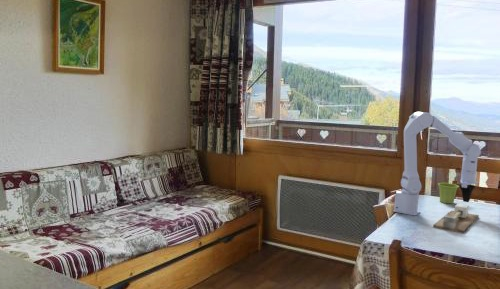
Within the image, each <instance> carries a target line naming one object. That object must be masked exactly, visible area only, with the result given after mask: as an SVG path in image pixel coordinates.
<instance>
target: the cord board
mask: <svg viewBox="0 0 500 289" xmlns="http://www.w3.org/2000/svg"><path fill="white" fill-rule="evenodd" d="M462 213H463V211H458V212H457V213H456V214H455V215H454V210H450V211H449V212H448V213H446V214H444V216H443V217H441V218H440V219H439V220H438V221H437V222H435V223H433V227H432V228H435V229H439V230H445V231H450V232H453V233H455V232H456V233H460V234H465V232H466V231H467V230H468V229H469V228H470V227H471V226H472V225H473V224H474V223H475V222H476V221H477V220H478V219H479V214H472V213H469V212H468V216H467V217H466V218H463V217H459V216H460V215H461V214H462Z"/></svg>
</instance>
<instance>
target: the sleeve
mask: <svg viewBox="0 0 500 289" xmlns="http://www.w3.org/2000/svg"><path fill="white" fill-rule="evenodd" d="M469 207H470V206H469V205H467V204H460V203H456V205H455V206H454V210H453V211H454V215H455V214H456V213H457V212H458V211H463V213H462V214H461V215H460V216H459V217H463V218H466V217H467V216H468V213H469Z"/></svg>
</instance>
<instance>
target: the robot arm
mask: <svg viewBox="0 0 500 289" xmlns="http://www.w3.org/2000/svg"><path fill="white" fill-rule="evenodd" d="M408 118H409V119H408V121H407V123H406V125H405V127H404V129H403V156H404V157H403V160H404V166H403V167H404V168H403V169H404V170H403V172H402V178H401V179H400V186H401V187H402V189H401V190H397V191H396V193H395V195H394V205H393V211H392V212H395V213H399V214H405V215H411V216H416V215H419V214H420V213H421V210H418V207H419V197H420V192H421V190H422V186H423V185H422V183H421V181H420V175H419V172H418V153H417V152H418V150H417V149H418V148H417V145H418V144H417V136H418V134H419V133H420V132H422V131H423V130H425V129H427V128H429V127H430V128H434V129H435V130H437V131H438V132H440V133H441V134H442V135H444V136H445V137H447V138H448V142H449V143H450V144H452V145H453V146H454V147H455V148H456V149H458V150H459V151H460V152H461V154H463V155H462V164H461V176H460V181H459V182H460V183H461V184H460V185H459V188H460V191H461V196H462V202H464V203H465V202H466V203H470V201H471V196H472V193H473V191H474V190H475V188H476V185H477V184H479V181H477V180H476V178H477V168H478V158H479V157H480V155H481V153H482V150H481V148H480V145H478V144H476V143H473V140H472V139H469V138H468V137H466V136H465V133H463V132H459V131H454V130H452V129H451V128H450V127H449V126H447V125H446V124H445V123H444V122H443V121H441V120H440V118H437V116H435V115H432V114H431V113H430V112H425V111H424V112H422V111H416V112H413V113H412V114H411V115H410V116H409V117H408Z"/></svg>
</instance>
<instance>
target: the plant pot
mask: <svg viewBox="0 0 500 289" xmlns="http://www.w3.org/2000/svg"><path fill="white" fill-rule="evenodd" d="M437 185H438V188H439V202H441V203H442V204H446V205H447V204H449V205H450V204H454V201H455V198H456V194H457V191H458V188H460V185H457V184H455V183H449V182H438V183H437Z"/></svg>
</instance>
